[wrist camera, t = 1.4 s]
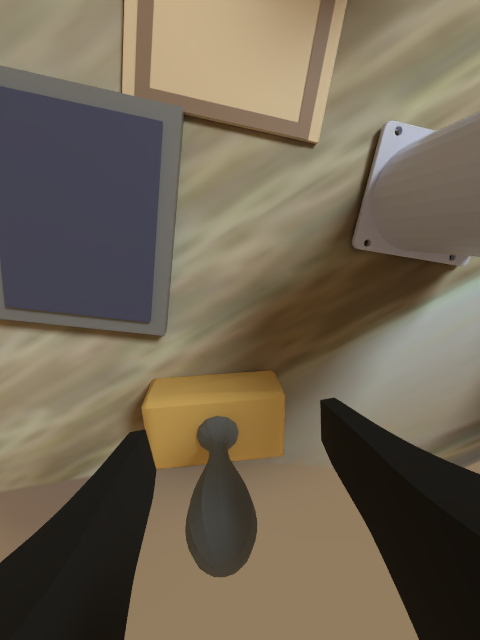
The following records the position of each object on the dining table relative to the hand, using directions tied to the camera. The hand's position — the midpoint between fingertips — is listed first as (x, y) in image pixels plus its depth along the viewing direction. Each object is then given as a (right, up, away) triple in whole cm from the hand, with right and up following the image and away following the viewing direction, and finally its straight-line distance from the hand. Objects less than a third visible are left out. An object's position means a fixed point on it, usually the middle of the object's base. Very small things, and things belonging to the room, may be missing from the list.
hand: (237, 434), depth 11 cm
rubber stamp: (-2, -2, +12) cm, 12 cm away
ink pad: (-10, +11, +6) cm, 16 cm away
